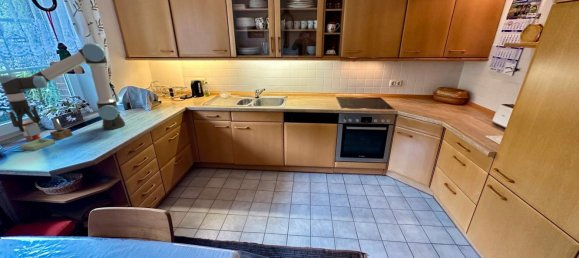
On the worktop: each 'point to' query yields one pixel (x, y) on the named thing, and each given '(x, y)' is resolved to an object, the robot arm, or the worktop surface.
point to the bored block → (61, 134)
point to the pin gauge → (57, 125)
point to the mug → (30, 138)
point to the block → (32, 129)
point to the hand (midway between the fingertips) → (32, 133)
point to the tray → (37, 144)
